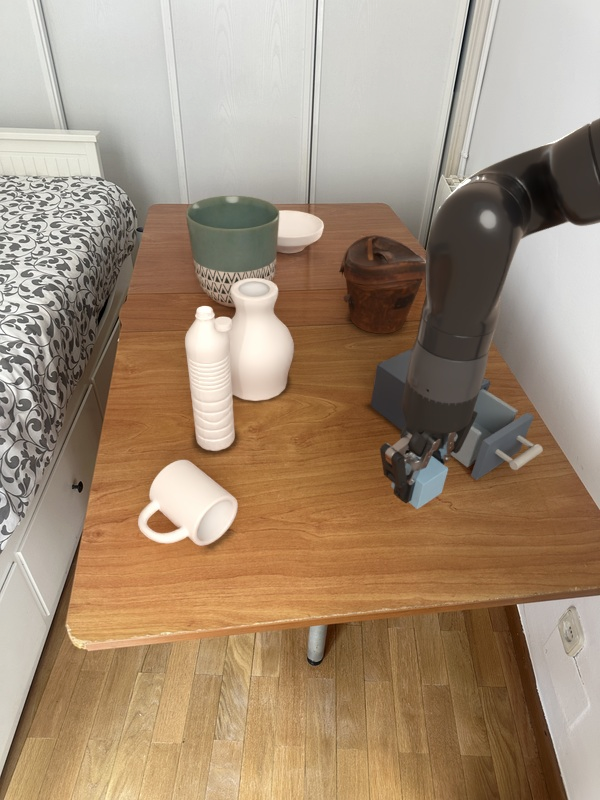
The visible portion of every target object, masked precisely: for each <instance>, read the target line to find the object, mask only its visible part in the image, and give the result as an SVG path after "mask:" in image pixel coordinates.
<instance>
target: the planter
mask: <svg viewBox="0 0 600 800" xmlns="http://www.w3.org/2000/svg"><path fill="white" fill-rule="evenodd" d="M279 211H280V209H279V208H278V207H277V206H276V205H275V204H273V203H272V202H270V201H267V200H264V199H262V198H258V197H253V196H247V195H219V196H213V197H208V198H204V199H200V200H198V201H196V202H194V203H192V204H190V205H189V206H188V207H187V208H186V211H185V217H186V225H187V230H188V231H187V232H188V237H189V244H190V251H191V257H192V262H193V269H194V272H195V273H194V274H195V276H196V279H197V282H198V284H199V286H200V287H201V289H202V291H203V292H204V294H206V296H208V298H210V299H211V300H213V302H215V303H218V304H219V305H221V306H223V307H229V308H236V307H235V304H234V302H233V299H232V296H231V287H232V285H233V284H234V283H236V282H237V281H239V280H243V279H247V278H261V279H266V280H269V281H272V282H273V283H274V278H275V275H276V269H277V260H278V259H277V258H278V251H277V246H278V231H279V215H280V213H279Z"/></svg>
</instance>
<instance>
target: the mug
mask: <svg viewBox="0 0 600 800" xmlns="http://www.w3.org/2000/svg"><path fill="white" fill-rule="evenodd" d="M148 494H149V500H150V502H149V503H148V504H147V505H146V506H145V507H144V508H143V509H142V510H141V512H140V514H139V516H138V519H137V526H138V528H139V530H140V532H141V534H143V535H144V536H145V537H146V538H148V539H149V540H150V541H153V542H156V543H158V544H167V545H168V544H174V543H177V542H180V541H183V540H184V539H187V538H189V540H191V541H192V542H193V544H195V545H197V546H200V547H201V546H202V547H204V546H208V545H210V544H213V543H215V542H216V541H217V540H219V539H220V538H222V536H224V535H225V533H226V532H227V531H228V530H229V528H230V527H231V526H232V524H233V522H234V521H235V519H236V516H237V513H238V507H239V504H238V503H239V502H238V500H237V498H236V497H235V496H234V495H232V493H230V492H229V491H228V490H226V489H225V488H224V487H223V486H222V485H220V484H219V483H218V482H216V481H215V480H214V479H212V478H211V477H210V476H209V475H207V473H205V472H204V471H203V470H202V469H201V468H199V467H197V466H196V465H195V464H194V463H193V462H191V461H190V460H188V459H178V460H175V461H173V462H171V463H169V464H167V465H166V466H164V467H163V468H162V469H161V470H160V471H159V472H158V474H157V475H156V476H155V478H154V479H153V481H152V483H151V485H150V488H149V493H148ZM158 511H159V512H160V513H161V514H162V515H163V516H165V517H166V518H167V519H168V520H169V521H170V522H171V523H172V524H173V525H174V526H175V527H176V528H177V529H175V530H173V531H169V532H165V533H163V532H157V531H155V530H154V529H151V528H150V527H149V525H148V520H149V519H150V518H151V517H152V516H153V515H154V514H155V513H156V512H158Z"/></svg>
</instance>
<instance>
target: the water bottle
mask: <svg viewBox="0 0 600 800" xmlns="http://www.w3.org/2000/svg"><path fill="white" fill-rule="evenodd" d="M215 316H216V315H215V312H214V309H213V308H212V307H211V306H208V305H201V306H199V307H197V308H196V313H195V315H194V317H195V320H194V321H193V323H192V324H191V325H190V327H189V328H188V329H187V332H186V333H185V338H184V348H185V353H186V361H187V371H188V379H189V389H190V398H191V402H192V403H191V405H192V411H193V412H192V415H193V421H194V430H195V439H196V443H197V445H198V446H199V447H200V448H201V449H204V450H206V451H212V452H218V451H222V450H225V449H228V448H229V447H230V446H231V445H232V444H233V443H234V442H235V438H236V431H235V418H234V400H233V394H232V381H231V365H230V342H229V336H228V333H227V331H229V330H230V329H232V320H231V319H232V318H230V317H229V316H219V317H216V318H215ZM225 329H226V330H225Z"/></svg>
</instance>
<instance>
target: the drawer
mask: <svg viewBox="0 0 600 800" xmlns="http://www.w3.org/2000/svg"><path fill="white" fill-rule="evenodd" d="M474 411H476V412H477V416H476V418H475V421H474V423H473V425H472V427H471V429H470V431H469V433H468V435H467V437H466V439H465V441H464V443H463V445H462V447H461V449H460V451H459V452H458V453H454V452H452V453H451V457H453V458H454V459H455V460H456V461H458V462H459V463H460V464H462V465H463V466H465V467H466V468H469V467H470V466H472V465H473V468H472V471H471V473H470V477H471V478H473V479H474V480H475V481H478V480H479V479H481V478H482V477H484V476H485V475H487V474H489V472H491V471H492V470H494V469H495V468H497V467H498V466H500V465H502V464H503V463H504V462H507V463H508V464H509V465H508V466H509V467H510V468H511V469H512V470H513V471H517V470H520V468H521V467H523V466H524V465H526V464H528V463H529V462H531V461H532V460H533V459H534V458H536V457H537V456H538V455H540V454H541V453H543V446H542V445H541V444H538V443H535V444H534V443H533V442H531V441H529V440H528V439H526V438H527V435H528V432H529V429H530V427H531V425H532V422H533V421H534V418H535V415H533V414H531V413H530V412H526V413H524V414H522V415H521V416H519V417H517V418H516V416H517V414H518V409H516V408H514V407H513V406H511V405H510V404H509V403H508V402H505V401H503V400H502V399H501V398H499V397H498V396H495V395H494V394H493V393H491V392H489V391H486V390H484V389H482V390H480V391H479V394H478V398H477V401H476V404H475V408H474ZM457 437H458V435H457V434H456V436H455V437H454V441H455V442H456V439H457ZM523 445H524V446H526V447H527V448H528V449H527V450H525V451H524V452H522V453H521V454H519V455H517V456H516V457H515V458H511V457H513V456H514V455H516V454H517V453H519V452H520V451H521V449H522V447H523Z"/></svg>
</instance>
